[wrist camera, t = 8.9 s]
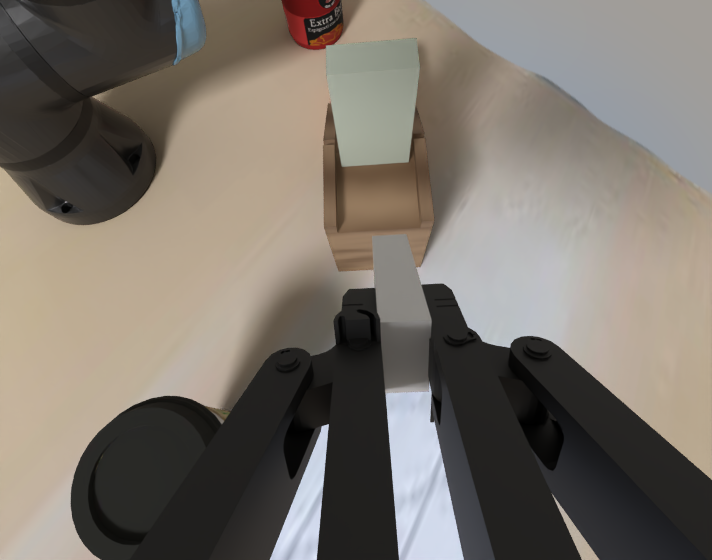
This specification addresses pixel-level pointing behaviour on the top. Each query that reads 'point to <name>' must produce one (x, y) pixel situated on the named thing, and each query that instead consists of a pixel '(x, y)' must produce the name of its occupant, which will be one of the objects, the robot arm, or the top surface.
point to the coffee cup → (137, 471)
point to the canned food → (314, 22)
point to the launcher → (375, 201)
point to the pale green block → (373, 99)
